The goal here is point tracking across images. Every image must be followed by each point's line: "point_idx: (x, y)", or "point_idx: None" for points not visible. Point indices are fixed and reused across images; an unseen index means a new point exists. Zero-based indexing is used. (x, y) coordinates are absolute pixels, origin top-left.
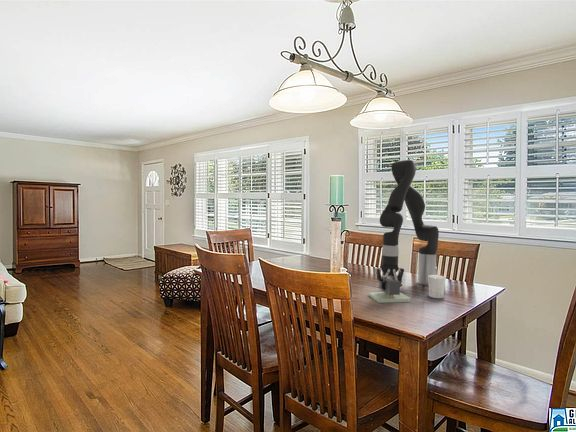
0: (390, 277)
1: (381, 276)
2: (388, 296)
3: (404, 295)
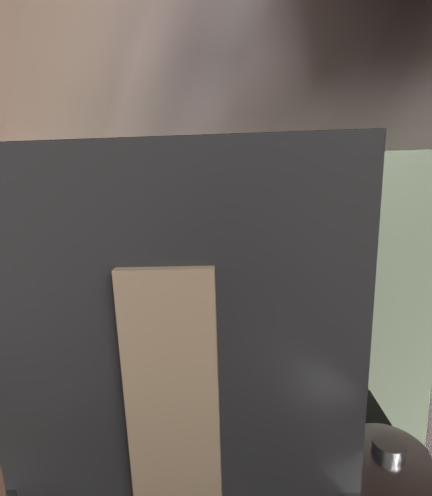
0: (321, 369)
1: (16, 179)
2: None
3: (419, 344)
